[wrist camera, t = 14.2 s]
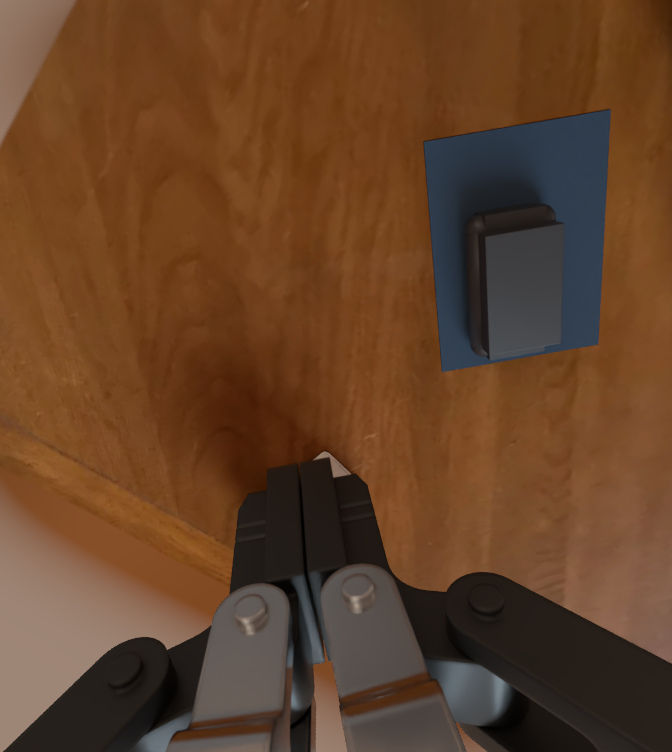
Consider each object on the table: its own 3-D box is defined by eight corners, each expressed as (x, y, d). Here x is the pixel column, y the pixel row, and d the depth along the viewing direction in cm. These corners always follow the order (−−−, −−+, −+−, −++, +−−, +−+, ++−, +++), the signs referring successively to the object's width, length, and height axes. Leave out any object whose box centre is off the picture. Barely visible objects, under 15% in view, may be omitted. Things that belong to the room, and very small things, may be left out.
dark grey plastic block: (459, 214, 35) (476, 221, 32) (548, 199, 35) (573, 204, 32) (466, 352, 39) (482, 370, 36) (545, 339, 39) (568, 355, 36)
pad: (422, 141, 33) (423, 141, 33) (608, 109, 33) (611, 109, 33) (441, 371, 39) (442, 372, 39) (596, 343, 39) (598, 344, 39)
